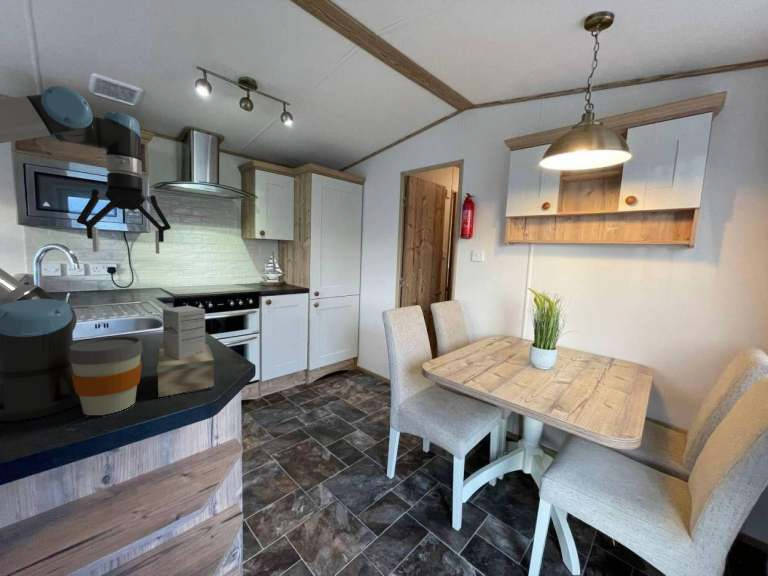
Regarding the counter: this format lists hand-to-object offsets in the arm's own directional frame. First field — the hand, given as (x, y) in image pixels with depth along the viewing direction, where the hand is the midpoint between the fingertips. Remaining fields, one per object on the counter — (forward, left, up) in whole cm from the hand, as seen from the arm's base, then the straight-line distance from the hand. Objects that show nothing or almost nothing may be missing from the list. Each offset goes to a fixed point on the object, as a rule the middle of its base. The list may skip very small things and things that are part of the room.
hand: (128, 252), depth 90 cm
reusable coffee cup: (-2, -24, -35) cm, 42 cm away
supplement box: (+13, -16, -27) cm, 34 cm away
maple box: (+13, -16, -35) cm, 40 cm away
